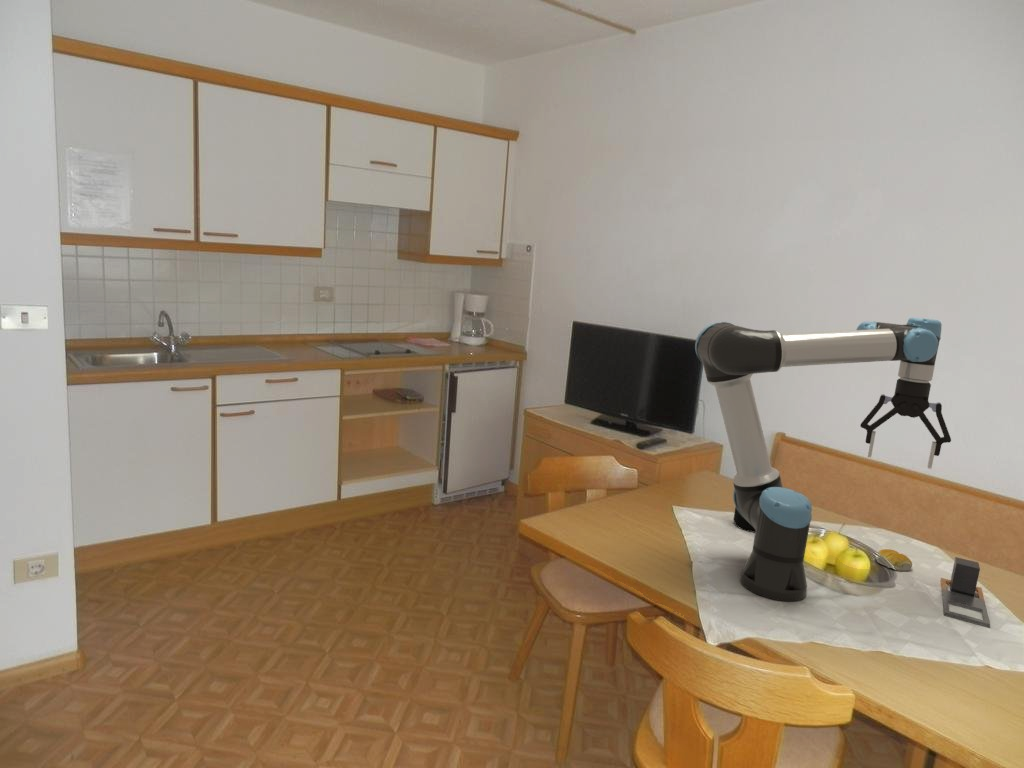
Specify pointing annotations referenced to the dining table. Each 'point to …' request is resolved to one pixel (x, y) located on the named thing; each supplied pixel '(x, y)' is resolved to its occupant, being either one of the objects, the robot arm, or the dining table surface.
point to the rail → (964, 604)
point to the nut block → (964, 576)
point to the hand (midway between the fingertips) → (898, 461)
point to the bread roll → (897, 559)
